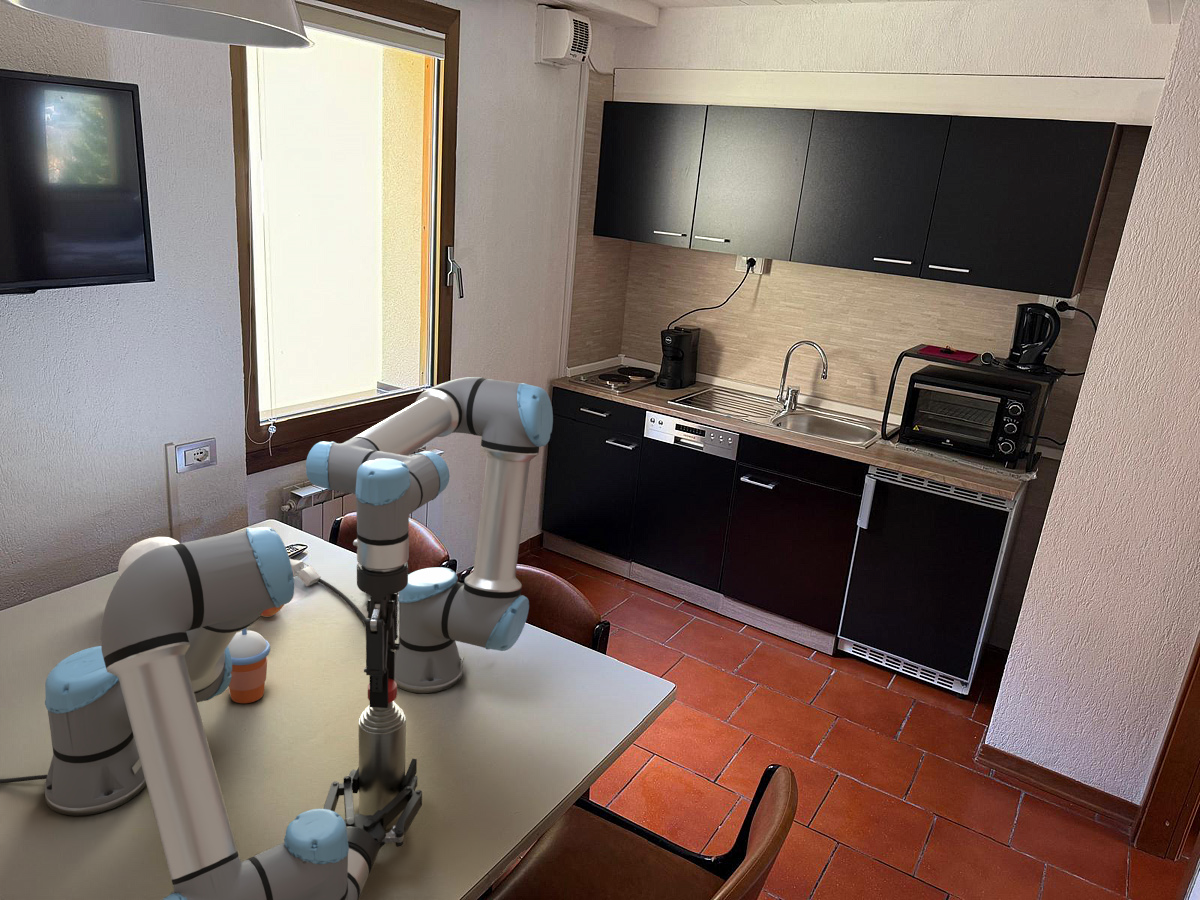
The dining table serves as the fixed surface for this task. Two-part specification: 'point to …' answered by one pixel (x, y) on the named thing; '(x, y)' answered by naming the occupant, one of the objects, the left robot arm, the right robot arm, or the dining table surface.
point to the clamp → (304, 572)
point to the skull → (142, 550)
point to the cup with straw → (248, 666)
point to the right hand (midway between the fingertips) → (382, 696)
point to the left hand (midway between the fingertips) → (390, 763)
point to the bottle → (381, 757)
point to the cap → (391, 690)
